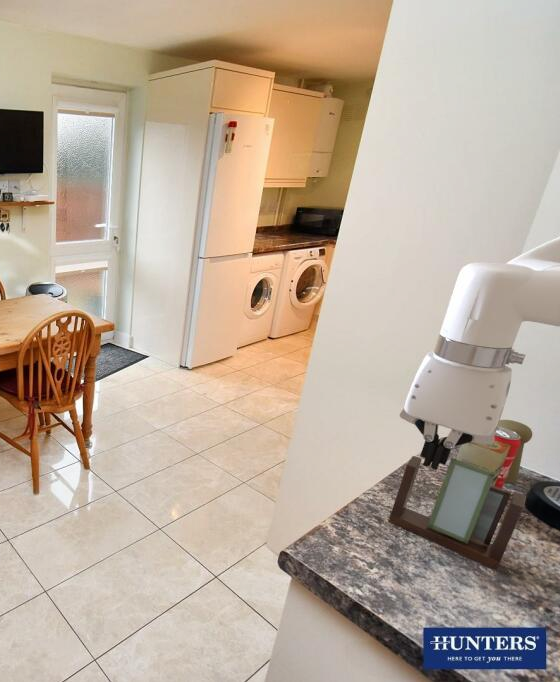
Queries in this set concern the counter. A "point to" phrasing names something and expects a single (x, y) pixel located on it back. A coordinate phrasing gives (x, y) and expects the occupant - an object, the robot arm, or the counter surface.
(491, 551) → the window frame
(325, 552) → the counter surface
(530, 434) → the cork
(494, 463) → the shoe polish box
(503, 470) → the beverage can
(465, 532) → the window pane
